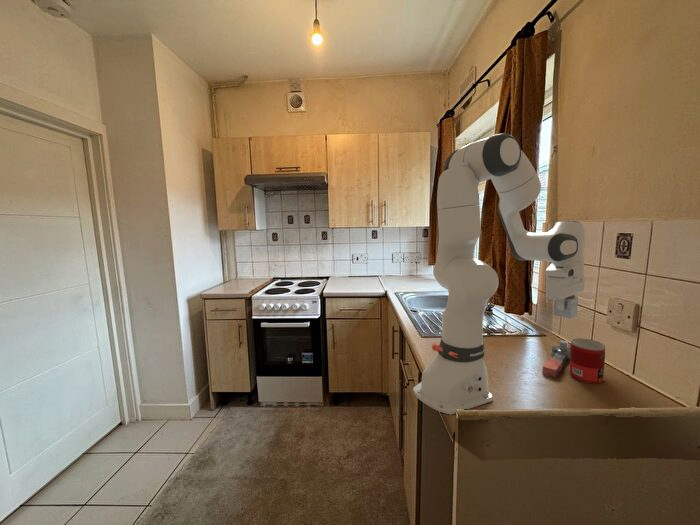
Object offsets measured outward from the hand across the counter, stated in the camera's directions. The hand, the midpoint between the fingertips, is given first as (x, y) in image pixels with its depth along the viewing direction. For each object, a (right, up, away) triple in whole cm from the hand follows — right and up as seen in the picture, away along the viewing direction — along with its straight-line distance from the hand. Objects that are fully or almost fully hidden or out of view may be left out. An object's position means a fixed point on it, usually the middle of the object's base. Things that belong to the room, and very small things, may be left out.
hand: (565, 308), depth 98 cm
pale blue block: (0, -3, 0) cm, 3 cm away
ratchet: (-5, -18, -3) cm, 19 cm away
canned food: (-3, -20, -12) cm, 23 cm away
